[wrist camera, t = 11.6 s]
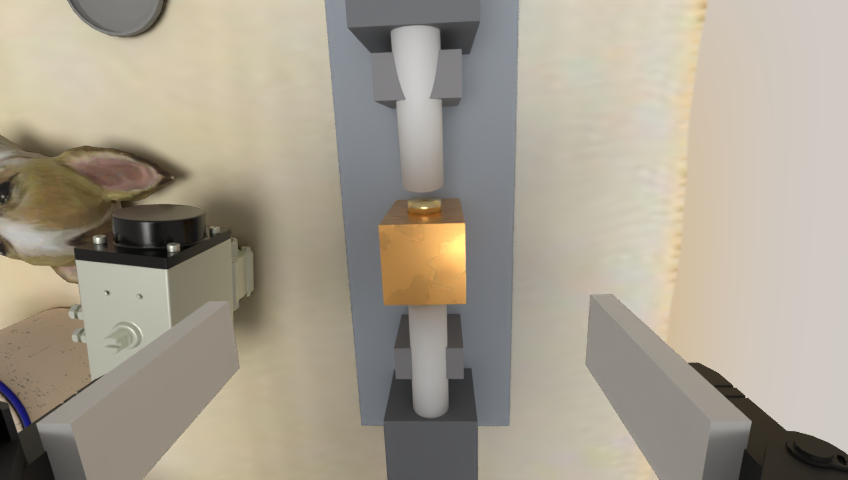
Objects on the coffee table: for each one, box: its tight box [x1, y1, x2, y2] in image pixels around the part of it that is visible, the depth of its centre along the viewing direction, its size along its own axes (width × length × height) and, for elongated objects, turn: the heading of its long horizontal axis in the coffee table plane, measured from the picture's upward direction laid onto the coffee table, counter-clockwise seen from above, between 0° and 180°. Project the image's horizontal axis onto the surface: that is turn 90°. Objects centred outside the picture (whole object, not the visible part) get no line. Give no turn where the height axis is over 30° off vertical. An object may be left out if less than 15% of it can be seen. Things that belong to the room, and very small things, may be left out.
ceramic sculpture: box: [0, 135, 175, 284], centre depth 27 cm, size 11×9×15 cm
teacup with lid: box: [0, 308, 91, 433], centre depth 29 cm, size 12×9×12 cm
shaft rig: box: [325, 0, 519, 480], centre depth 26 cm, size 32×12×9 cm, turn 2°
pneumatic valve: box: [68, 204, 254, 382], centre depth 26 cm, size 6×12×12 cm, turn 175°
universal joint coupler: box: [378, 197, 466, 305], centre depth 25 cm, size 6×4×8 cm
